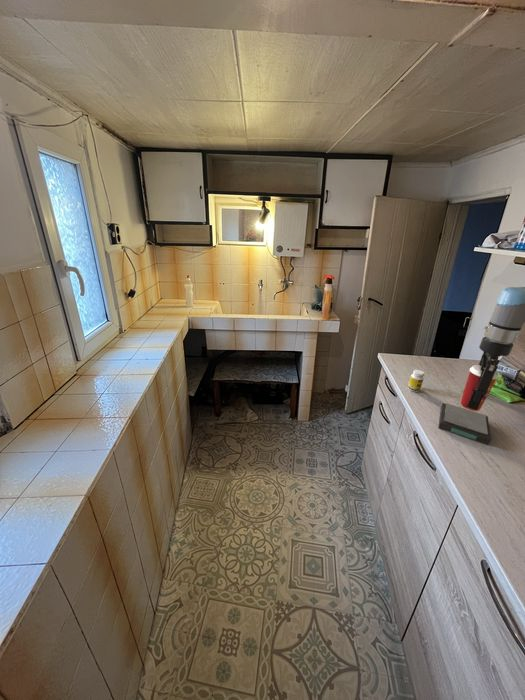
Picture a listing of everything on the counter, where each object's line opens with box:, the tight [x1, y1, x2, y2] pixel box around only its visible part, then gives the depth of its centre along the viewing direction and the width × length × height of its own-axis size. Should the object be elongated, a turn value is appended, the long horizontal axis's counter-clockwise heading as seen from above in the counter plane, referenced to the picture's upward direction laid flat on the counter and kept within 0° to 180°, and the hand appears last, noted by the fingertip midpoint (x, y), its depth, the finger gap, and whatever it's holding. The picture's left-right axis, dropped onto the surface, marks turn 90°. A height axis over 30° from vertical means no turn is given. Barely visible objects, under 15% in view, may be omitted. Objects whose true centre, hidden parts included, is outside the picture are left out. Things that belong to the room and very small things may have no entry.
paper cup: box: [460, 364, 500, 412], centre depth 92 cm, size 8×8×14 cm
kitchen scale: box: [437, 402, 492, 446], centre depth 97 cm, size 14×14×3 cm
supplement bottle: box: [407, 369, 425, 393], centre depth 117 cm, size 5×5×8 cm
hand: (471, 402), depth 94 cm, fingers closed on paper cup, 7 cm apart
